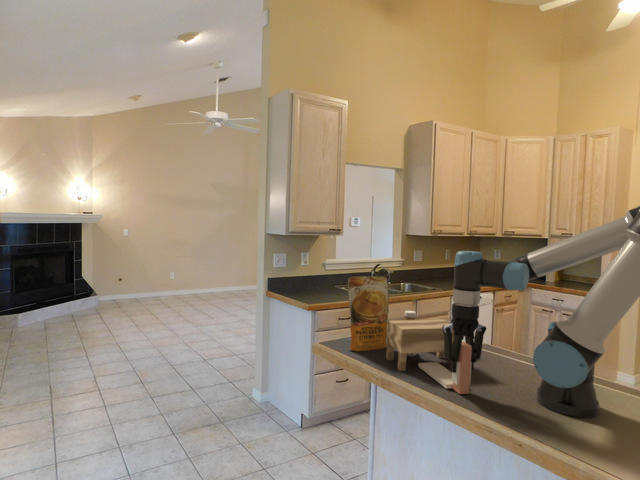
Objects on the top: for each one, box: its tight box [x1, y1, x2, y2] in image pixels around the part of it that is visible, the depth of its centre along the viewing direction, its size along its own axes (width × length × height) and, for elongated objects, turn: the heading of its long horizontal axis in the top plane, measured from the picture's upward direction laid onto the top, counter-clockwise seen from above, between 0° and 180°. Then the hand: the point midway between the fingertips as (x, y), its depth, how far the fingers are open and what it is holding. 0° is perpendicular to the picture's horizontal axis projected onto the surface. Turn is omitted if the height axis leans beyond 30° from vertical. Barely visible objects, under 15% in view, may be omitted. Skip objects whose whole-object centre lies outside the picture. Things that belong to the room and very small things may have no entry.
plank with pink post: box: [417, 341, 472, 395], centre depth 129 cm, size 22×7×14 cm, turn 13°
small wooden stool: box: [385, 318, 454, 372], centre depth 144 cm, size 12×22×14 cm, turn 103°
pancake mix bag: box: [347, 275, 390, 352], centre depth 158 cm, size 7×19×28 cm, turn 112°
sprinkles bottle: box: [404, 310, 417, 320], centre depth 165 cm, size 5×5×14 cm
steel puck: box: [406, 353, 418, 358], centre depth 154 cm, size 6×6×2 cm
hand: (460, 382), depth 121 cm, fingers closed on plank with pink post, 3 cm apart
